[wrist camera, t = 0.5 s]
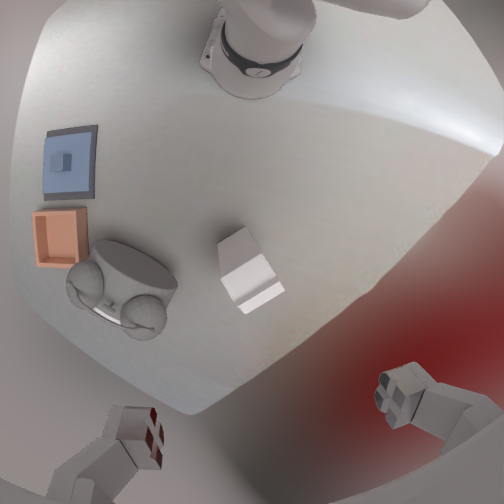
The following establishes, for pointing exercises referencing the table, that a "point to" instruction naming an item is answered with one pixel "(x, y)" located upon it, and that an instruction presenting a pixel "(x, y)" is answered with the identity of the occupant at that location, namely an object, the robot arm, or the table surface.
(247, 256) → the milk
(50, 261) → the dish
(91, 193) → the mat
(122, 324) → the alarm clock
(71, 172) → the lid
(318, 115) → the table surface
